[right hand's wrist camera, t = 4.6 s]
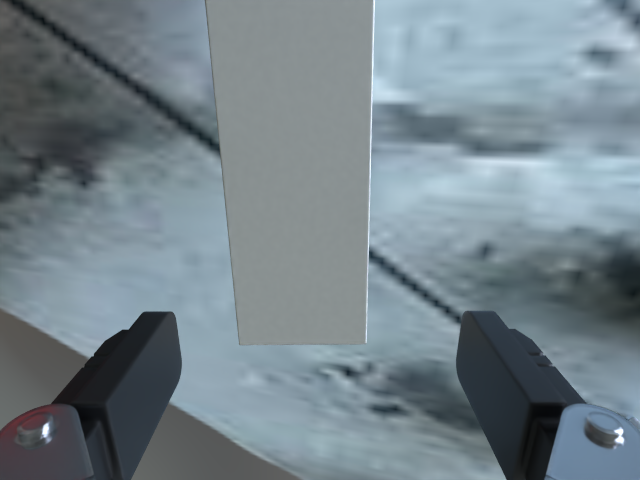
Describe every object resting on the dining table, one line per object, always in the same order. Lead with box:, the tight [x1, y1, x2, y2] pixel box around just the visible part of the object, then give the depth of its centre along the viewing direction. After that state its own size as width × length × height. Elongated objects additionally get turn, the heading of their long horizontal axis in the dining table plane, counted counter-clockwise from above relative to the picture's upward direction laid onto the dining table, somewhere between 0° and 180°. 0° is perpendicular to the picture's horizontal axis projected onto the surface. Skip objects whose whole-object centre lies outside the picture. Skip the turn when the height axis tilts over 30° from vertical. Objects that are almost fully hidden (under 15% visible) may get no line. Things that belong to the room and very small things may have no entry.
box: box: [205, 0, 375, 345], centre depth 21 cm, size 26×6×13 cm, turn 1°
